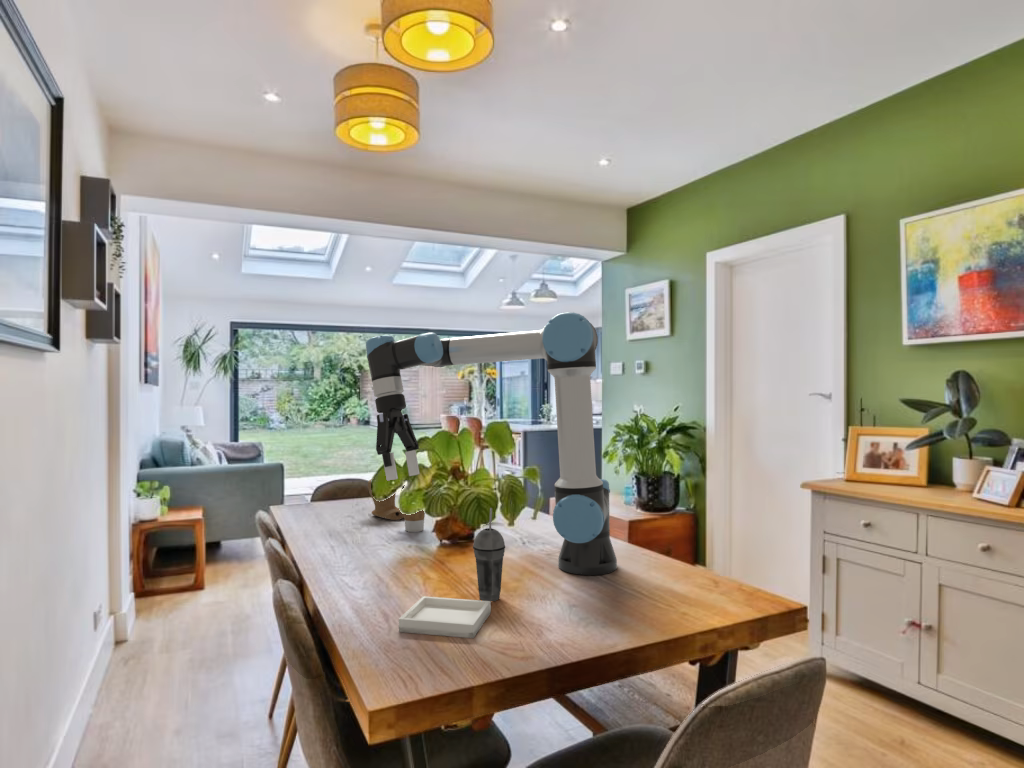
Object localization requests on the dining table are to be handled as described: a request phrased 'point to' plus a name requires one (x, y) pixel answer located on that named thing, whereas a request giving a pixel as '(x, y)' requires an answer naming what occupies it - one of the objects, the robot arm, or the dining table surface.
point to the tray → (445, 617)
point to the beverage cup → (489, 562)
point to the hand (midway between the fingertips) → (404, 477)
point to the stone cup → (386, 507)
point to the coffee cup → (414, 521)
